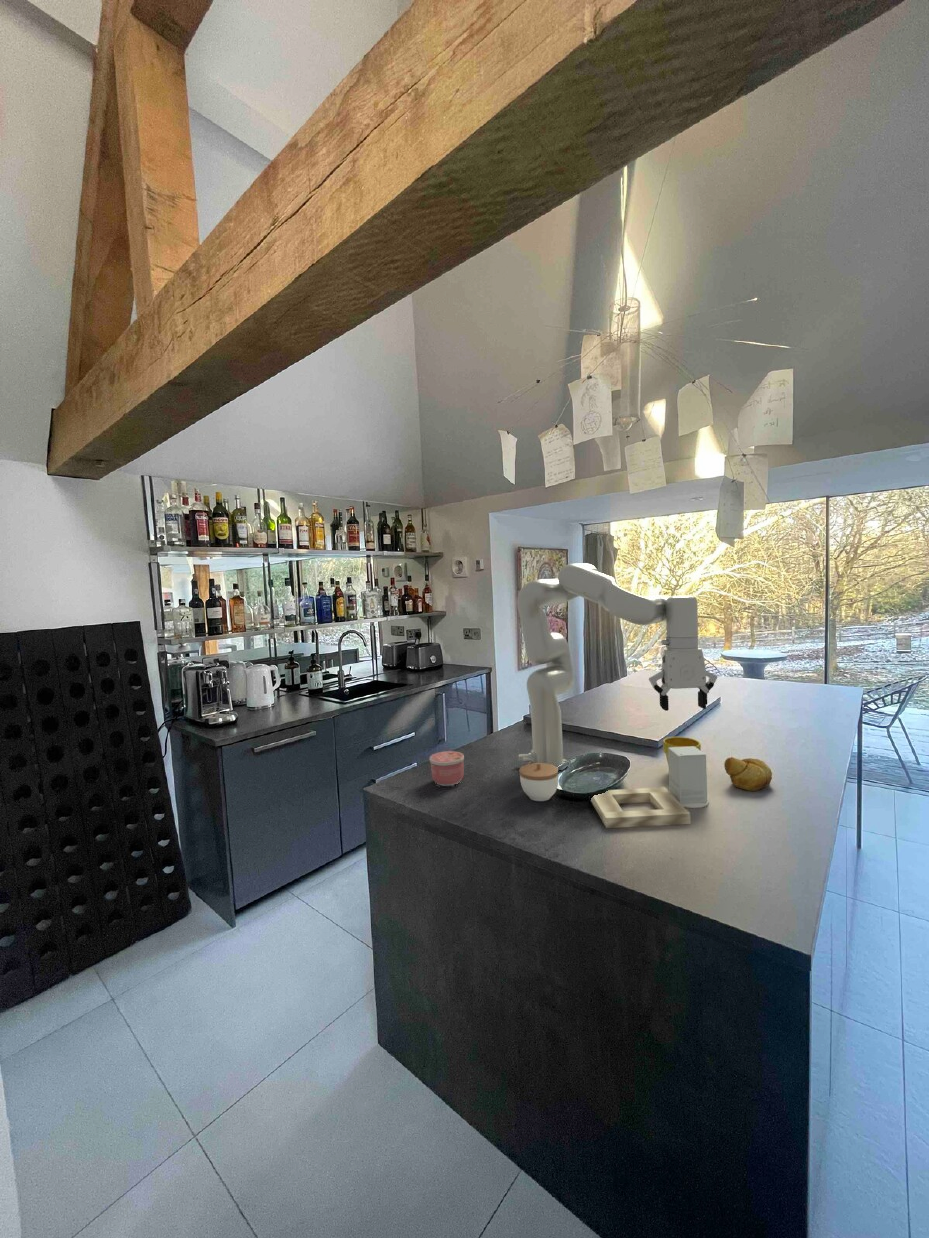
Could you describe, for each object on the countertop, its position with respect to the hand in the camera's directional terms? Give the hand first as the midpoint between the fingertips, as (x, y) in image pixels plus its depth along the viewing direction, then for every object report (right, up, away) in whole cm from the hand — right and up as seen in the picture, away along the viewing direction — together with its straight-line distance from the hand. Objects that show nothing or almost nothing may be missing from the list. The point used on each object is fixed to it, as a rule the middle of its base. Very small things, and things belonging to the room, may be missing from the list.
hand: (683, 708), depth 134 cm
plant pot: (+8, -23, +19) cm, 31 cm away
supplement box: (+2, -24, +1) cm, 24 cm away
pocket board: (-13, -25, -4) cm, 29 cm away
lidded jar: (-36, -26, +9) cm, 45 cm away
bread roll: (+23, -23, +8) cm, 33 cm away
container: (-62, -27, +23) cm, 71 cm away
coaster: (+2, -24, +1) cm, 24 cm away
